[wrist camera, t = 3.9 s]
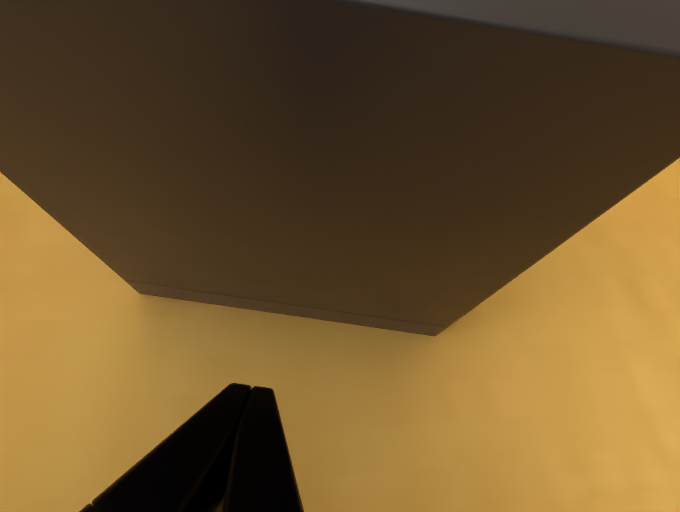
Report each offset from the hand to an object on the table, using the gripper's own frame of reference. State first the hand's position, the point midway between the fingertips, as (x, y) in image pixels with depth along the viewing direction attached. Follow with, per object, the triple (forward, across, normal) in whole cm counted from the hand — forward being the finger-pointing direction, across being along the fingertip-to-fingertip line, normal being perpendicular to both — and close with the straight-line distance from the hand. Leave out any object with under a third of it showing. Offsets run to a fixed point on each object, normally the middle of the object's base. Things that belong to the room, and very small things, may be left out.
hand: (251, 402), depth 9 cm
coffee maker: (+12, 0, -3) cm, 12 cm away
